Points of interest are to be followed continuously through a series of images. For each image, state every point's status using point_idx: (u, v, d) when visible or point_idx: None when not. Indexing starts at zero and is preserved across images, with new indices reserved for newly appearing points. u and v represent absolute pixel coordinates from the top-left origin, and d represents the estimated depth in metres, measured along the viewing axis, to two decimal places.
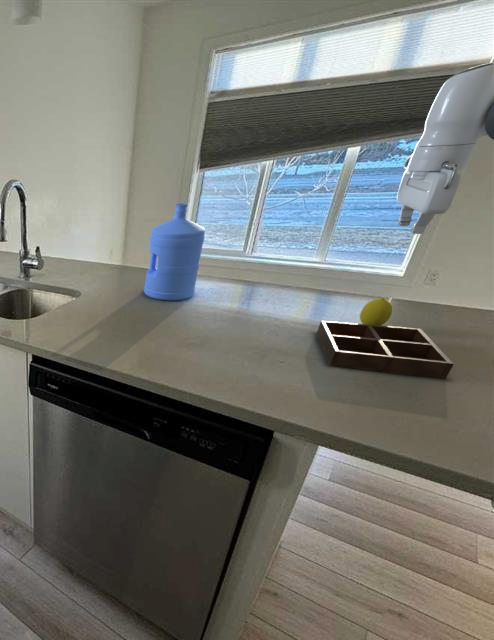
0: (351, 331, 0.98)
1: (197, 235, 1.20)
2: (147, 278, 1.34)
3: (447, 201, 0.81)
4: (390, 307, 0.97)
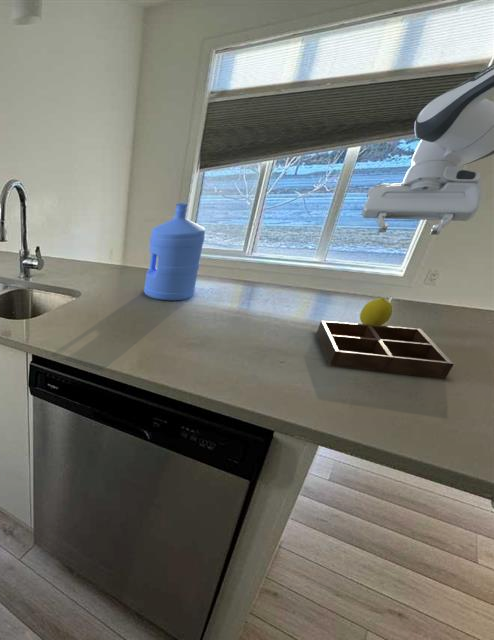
0: (351, 331, 0.98)
1: (198, 235, 1.20)
2: (147, 278, 1.34)
3: (365, 203, 1.05)
4: (390, 307, 0.97)
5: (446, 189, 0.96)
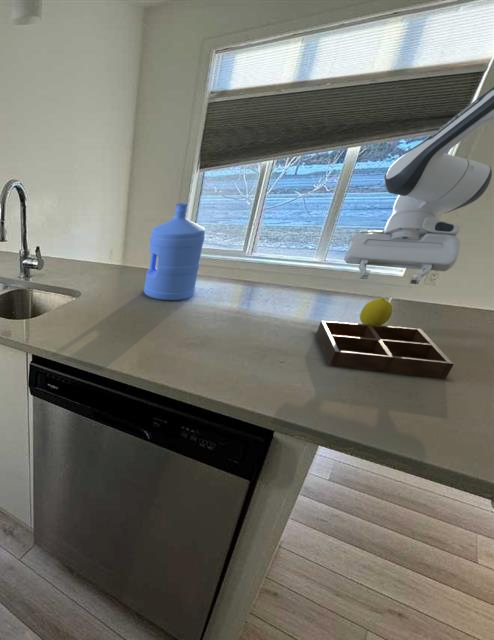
0: (351, 331, 0.98)
1: (198, 235, 1.20)
2: (147, 278, 1.34)
3: None
4: (390, 307, 0.97)
5: (425, 240, 0.98)
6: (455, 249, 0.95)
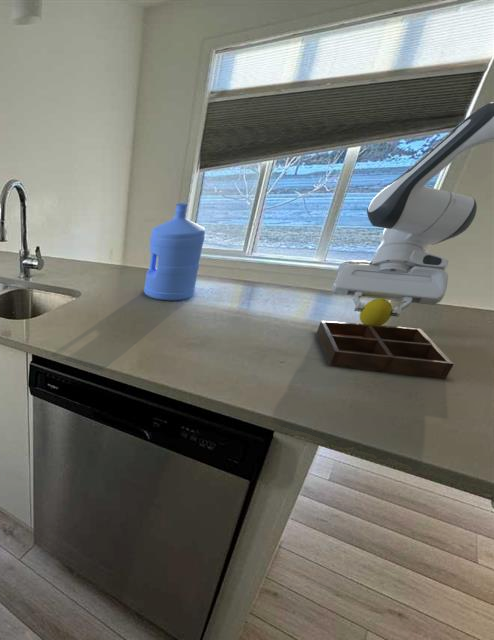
0: (351, 331, 0.98)
1: (198, 235, 1.20)
2: (147, 278, 1.34)
3: (335, 280, 1.05)
4: (390, 307, 0.97)
5: (413, 272, 0.97)
6: (443, 283, 0.93)
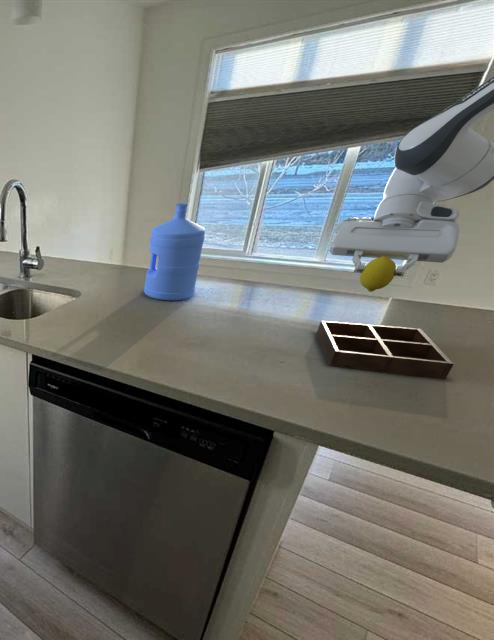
0: (351, 331, 0.98)
1: (198, 235, 1.20)
2: (147, 278, 1.34)
3: (333, 239, 0.95)
4: (394, 266, 0.87)
5: (420, 227, 0.86)
6: (454, 237, 0.83)
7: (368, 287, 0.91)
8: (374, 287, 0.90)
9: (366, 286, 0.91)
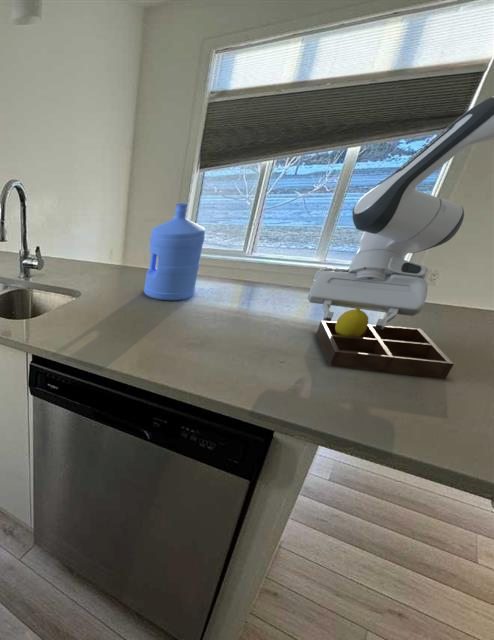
0: None
1: (198, 235, 1.20)
2: (147, 278, 1.34)
3: None
4: (366, 319, 0.91)
5: (391, 281, 0.90)
6: (422, 293, 0.87)
7: None
8: None
9: None
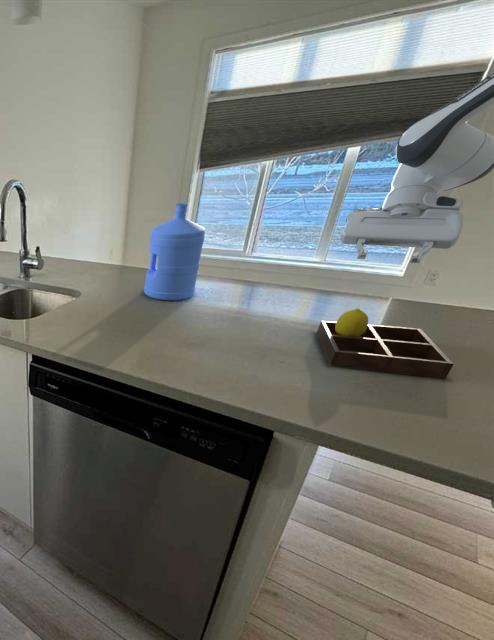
0: None
1: (198, 235, 1.20)
2: (147, 278, 1.34)
3: (344, 229, 1.01)
4: (366, 319, 0.91)
5: (426, 216, 0.92)
6: (458, 224, 0.89)
7: None
8: None
9: None
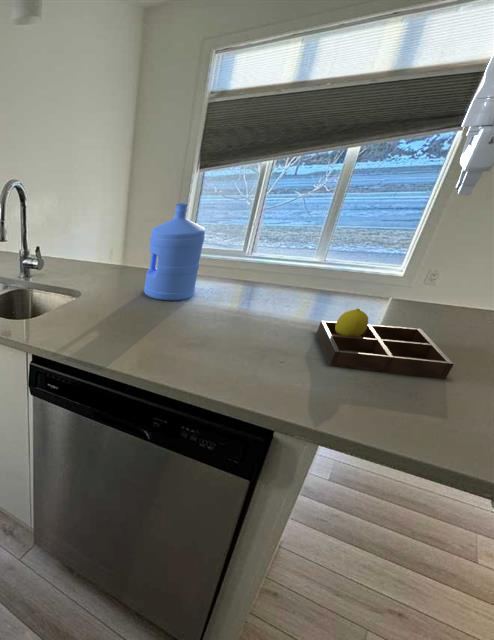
0: None
1: (198, 235, 1.20)
2: (147, 278, 1.34)
3: (491, 157, 0.75)
4: (366, 319, 0.91)
5: None
6: None
7: None
8: None
9: None
